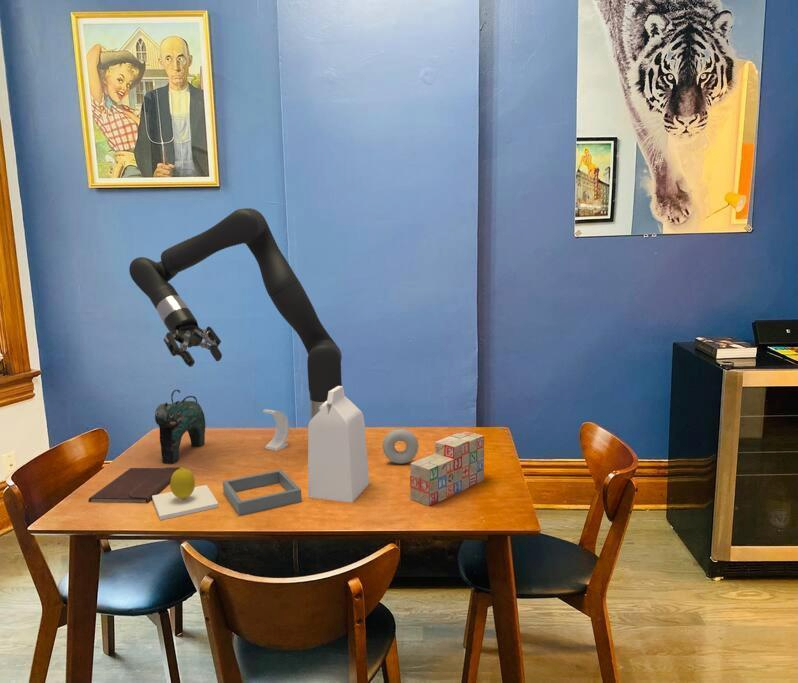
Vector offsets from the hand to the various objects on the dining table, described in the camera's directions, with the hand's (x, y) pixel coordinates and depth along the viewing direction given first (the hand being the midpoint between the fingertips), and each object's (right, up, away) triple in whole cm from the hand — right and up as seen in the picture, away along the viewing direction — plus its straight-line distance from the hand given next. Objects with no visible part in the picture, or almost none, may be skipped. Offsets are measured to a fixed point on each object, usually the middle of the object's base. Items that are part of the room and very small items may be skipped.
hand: (206, 361), depth 161 cm
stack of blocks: (+63, -32, -9) cm, 71 cm away
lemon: (-1, -33, -15) cm, 36 cm away
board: (-1, -33, -14) cm, 36 cm away
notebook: (-16, -33, -3) cm, 37 cm away
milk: (+36, -32, -8) cm, 49 cm away
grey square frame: (+17, -33, -12) cm, 39 cm away
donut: (+51, -29, +9) cm, 59 cm away
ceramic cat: (-13, -28, +20) cm, 37 cm away
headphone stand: (+14, -27, +25) cm, 39 cm away
